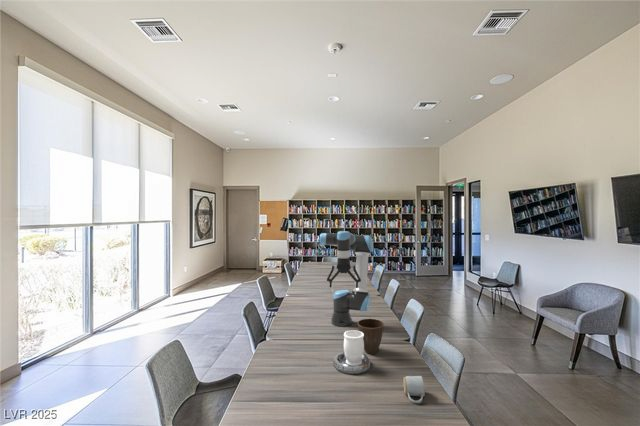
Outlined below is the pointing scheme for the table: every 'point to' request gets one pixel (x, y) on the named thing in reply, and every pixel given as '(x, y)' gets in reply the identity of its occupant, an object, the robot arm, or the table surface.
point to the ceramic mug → (414, 387)
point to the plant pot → (371, 334)
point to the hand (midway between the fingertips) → (343, 293)
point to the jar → (353, 347)
